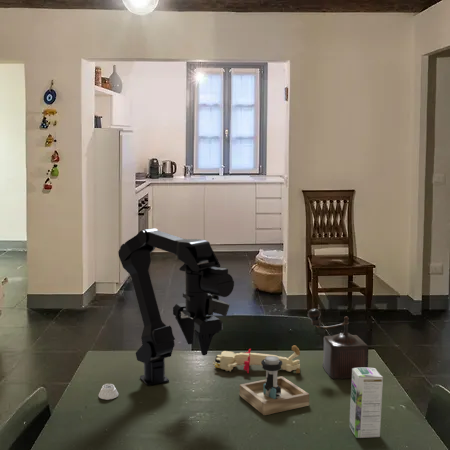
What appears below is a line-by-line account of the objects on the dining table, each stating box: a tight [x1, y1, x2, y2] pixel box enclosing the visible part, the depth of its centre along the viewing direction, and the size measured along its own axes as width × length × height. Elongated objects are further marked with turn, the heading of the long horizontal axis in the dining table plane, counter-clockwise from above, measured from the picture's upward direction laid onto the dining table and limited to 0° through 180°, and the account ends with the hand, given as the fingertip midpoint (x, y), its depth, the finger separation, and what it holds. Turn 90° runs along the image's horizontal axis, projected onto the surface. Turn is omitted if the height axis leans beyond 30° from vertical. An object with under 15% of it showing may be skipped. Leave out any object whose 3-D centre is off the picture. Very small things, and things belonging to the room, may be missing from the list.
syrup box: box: [349, 366, 384, 439], centre depth 141 cm, size 6×6×14 cm
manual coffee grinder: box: [307, 308, 369, 380], centre depth 177 cm, size 16×11×18 cm
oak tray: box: [239, 376, 310, 416], centre depth 158 cm, size 13×13×3 cm
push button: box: [261, 355, 282, 399], centre depth 158 cm, size 7×5×10 cm
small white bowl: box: [98, 383, 119, 401], centre depth 161 cm, size 5×3×5 cm
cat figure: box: [212, 345, 301, 374], centre depth 179 cm, size 10×9×25 cm
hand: (197, 349), depth 158 cm, fingers open, 9 cm apart
